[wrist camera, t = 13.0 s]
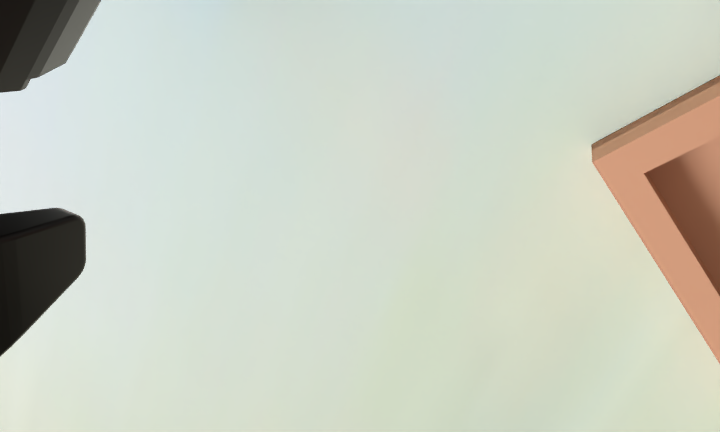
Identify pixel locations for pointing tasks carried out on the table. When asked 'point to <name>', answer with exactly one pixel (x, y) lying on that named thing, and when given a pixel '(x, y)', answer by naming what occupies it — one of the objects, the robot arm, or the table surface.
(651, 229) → the tray
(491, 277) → the table surface
